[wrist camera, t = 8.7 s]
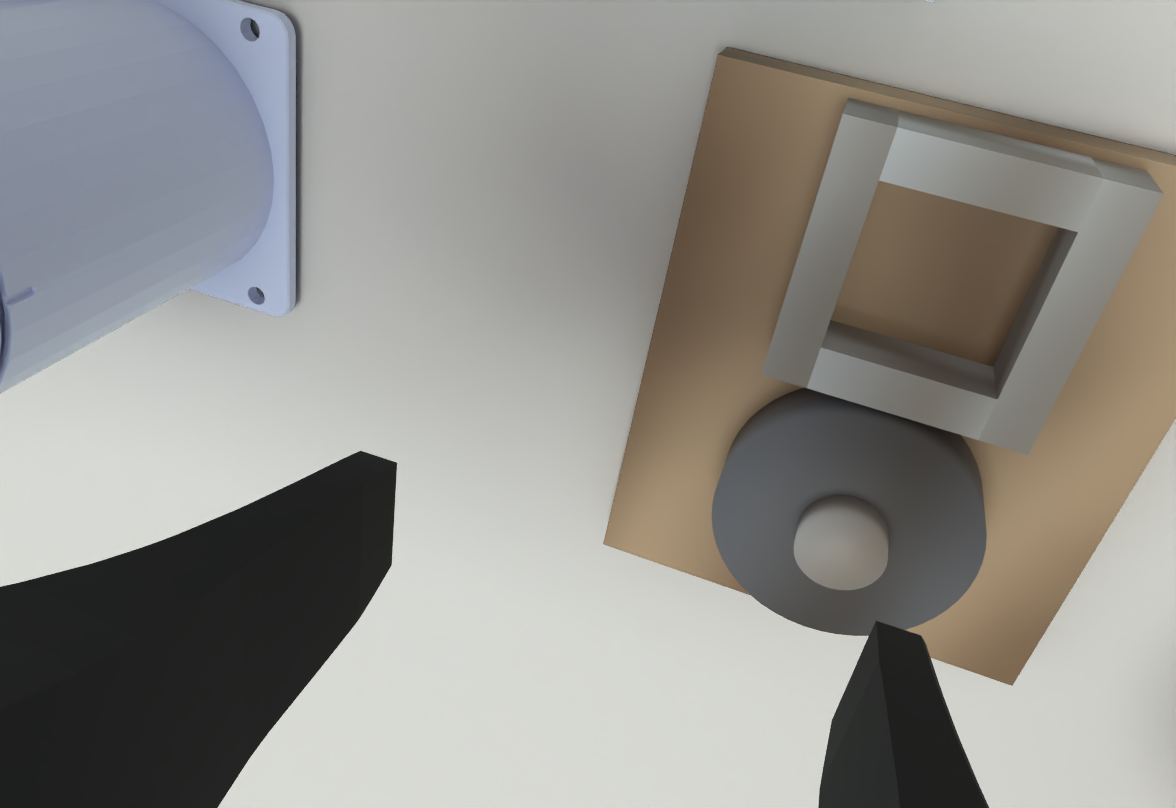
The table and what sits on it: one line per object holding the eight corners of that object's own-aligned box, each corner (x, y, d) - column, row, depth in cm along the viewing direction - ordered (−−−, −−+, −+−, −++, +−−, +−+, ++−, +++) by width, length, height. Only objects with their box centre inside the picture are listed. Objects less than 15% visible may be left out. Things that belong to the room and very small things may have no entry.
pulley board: (613, 523, 26) (575, 600, 23) (727, 46, 19) (692, 75, 17) (1009, 658, 24) (1020, 760, 22) (1291, 183, 17) (1361, 242, 15)
